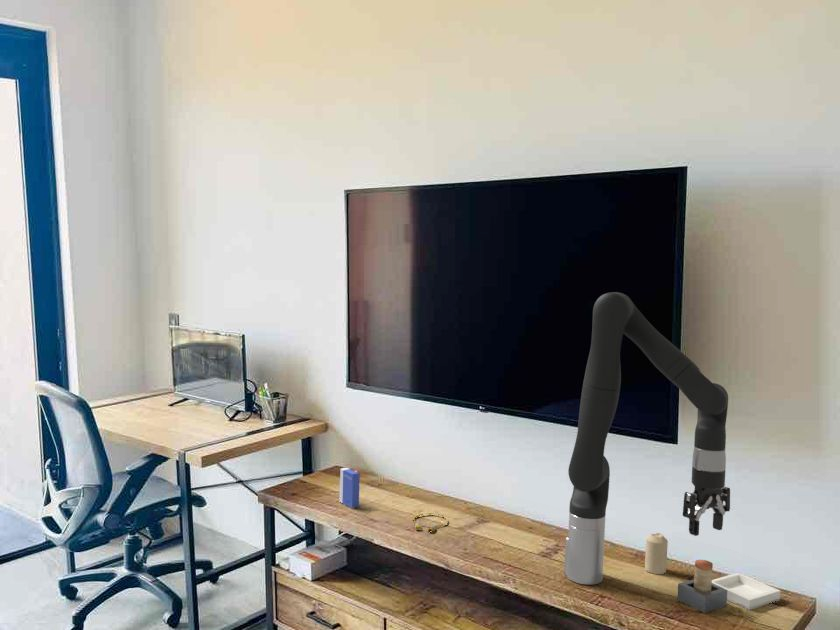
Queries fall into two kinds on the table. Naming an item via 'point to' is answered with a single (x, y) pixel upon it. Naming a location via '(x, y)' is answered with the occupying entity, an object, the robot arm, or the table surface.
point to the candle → (656, 553)
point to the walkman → (349, 487)
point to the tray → (747, 591)
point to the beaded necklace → (418, 527)
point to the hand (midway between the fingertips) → (705, 531)
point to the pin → (703, 576)
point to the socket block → (702, 596)
